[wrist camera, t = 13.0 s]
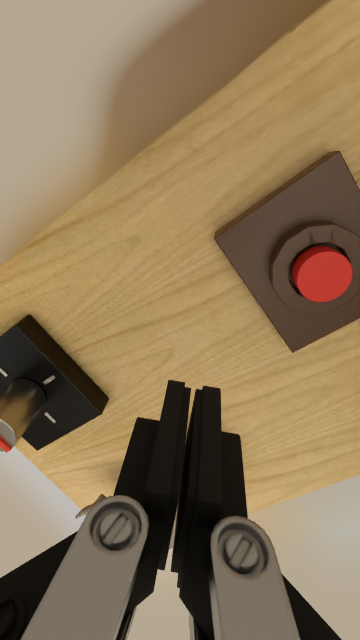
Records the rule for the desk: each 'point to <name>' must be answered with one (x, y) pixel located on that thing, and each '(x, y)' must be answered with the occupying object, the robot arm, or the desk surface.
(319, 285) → the power button
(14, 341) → the dial panel
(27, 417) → the dial
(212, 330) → the desk surface
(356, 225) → the button housing
